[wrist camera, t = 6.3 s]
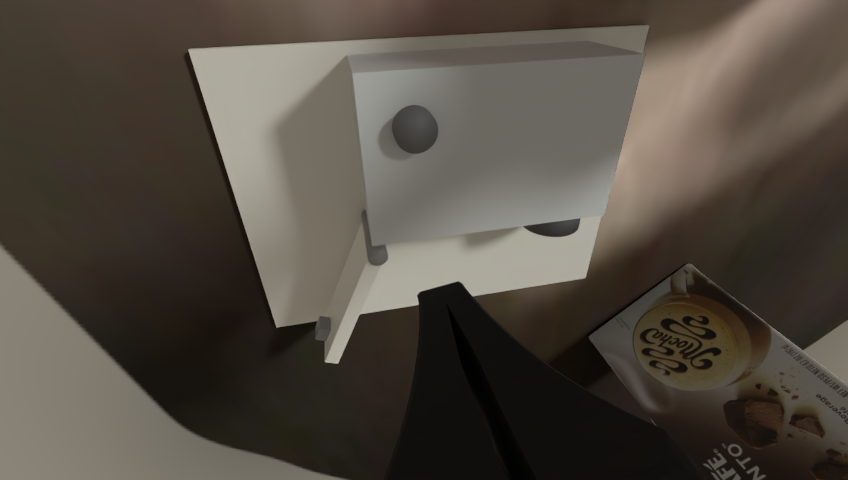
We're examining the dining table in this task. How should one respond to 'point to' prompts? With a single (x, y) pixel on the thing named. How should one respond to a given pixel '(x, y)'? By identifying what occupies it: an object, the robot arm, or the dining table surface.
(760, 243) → the dining table surface
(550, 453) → the robot arm
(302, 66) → the mat
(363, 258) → the side door
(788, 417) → the coffee box
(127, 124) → the dining table surface
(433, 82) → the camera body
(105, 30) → the dining table surface
